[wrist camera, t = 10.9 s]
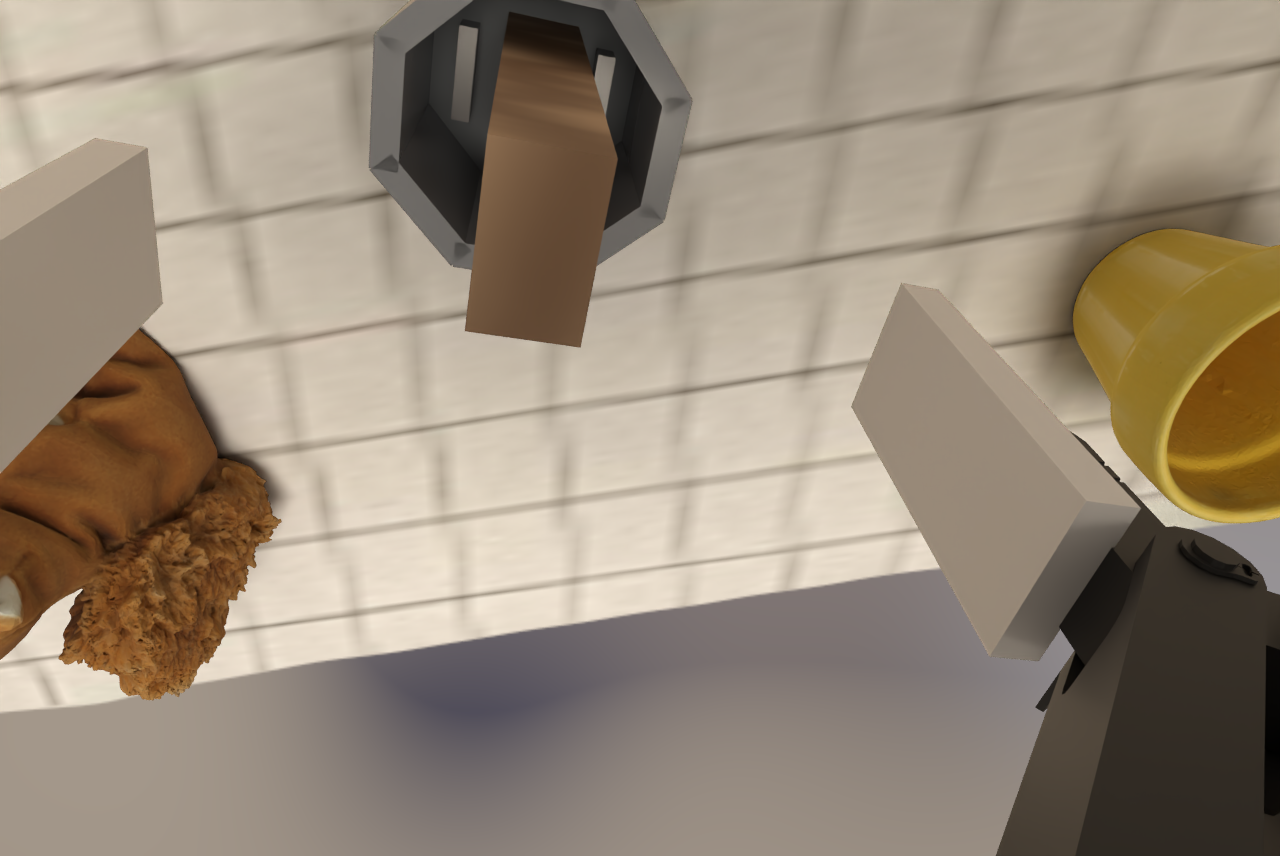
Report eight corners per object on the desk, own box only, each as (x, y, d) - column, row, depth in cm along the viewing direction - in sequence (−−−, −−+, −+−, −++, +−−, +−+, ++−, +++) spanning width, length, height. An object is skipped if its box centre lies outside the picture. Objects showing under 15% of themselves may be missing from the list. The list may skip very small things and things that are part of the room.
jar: (676, -29, 29) (715, 1, 22) (626, 212, 33) (646, 297, 26) (419, -89, 27) (378, -78, 20) (403, 172, 31) (365, 252, 25)
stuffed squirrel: (62, 263, 32) (-186, 463, 21) (351, 478, 39) (276, 713, 28) (-75, 411, 35) (-355, 653, 24) (216, 587, 42) (100, 839, 31)
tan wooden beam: (579, 26, 29) (617, 158, 16) (560, 143, 31) (580, 347, 18) (508, 11, 28) (487, 133, 15) (494, 131, 30) (464, 331, 17)
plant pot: (986, 296, 37) (1112, 415, 29) (1210, 130, 34) (1422, 211, 25) (1085, 433, 42) (1216, 568, 33) (1288, 299, 38) (1488, 412, 30)
